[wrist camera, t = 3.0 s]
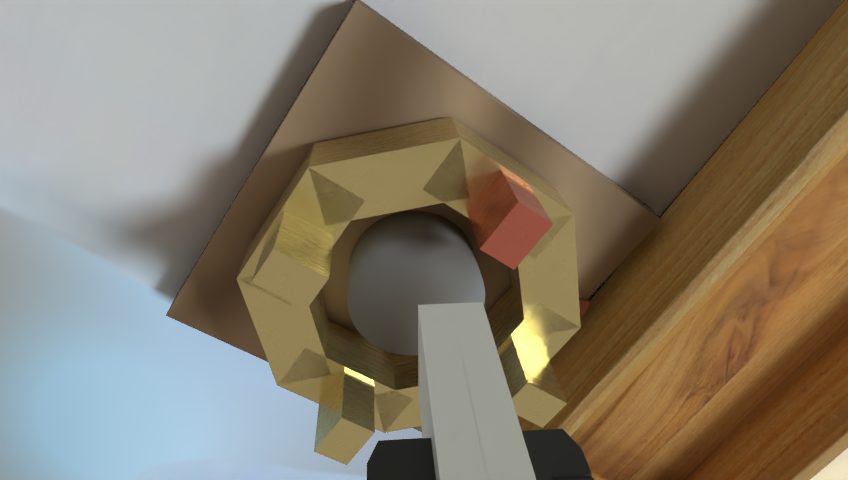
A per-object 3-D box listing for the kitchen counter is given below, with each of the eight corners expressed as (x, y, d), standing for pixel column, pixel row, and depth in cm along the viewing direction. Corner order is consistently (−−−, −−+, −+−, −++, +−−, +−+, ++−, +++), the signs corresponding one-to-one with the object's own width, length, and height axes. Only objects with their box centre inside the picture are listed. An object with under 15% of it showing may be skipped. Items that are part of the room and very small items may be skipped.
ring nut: (207, 310, 28) (171, 395, 23) (367, 59, 23) (367, 96, 18) (445, 422, 33) (459, 514, 28) (619, 231, 28) (675, 300, 23)
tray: (882, -57, 25) (1011, -53, 20) (1064, 123, 30) (1205, 163, 25) (473, 422, 36) (489, 502, 31) (653, 498, 41) (693, 579, 36)
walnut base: (174, 298, 30) (146, 352, 26) (356, -3, 24) (354, 11, 20) (452, 427, 35) (462, 487, 32) (653, 210, 30) (695, 252, 26)
